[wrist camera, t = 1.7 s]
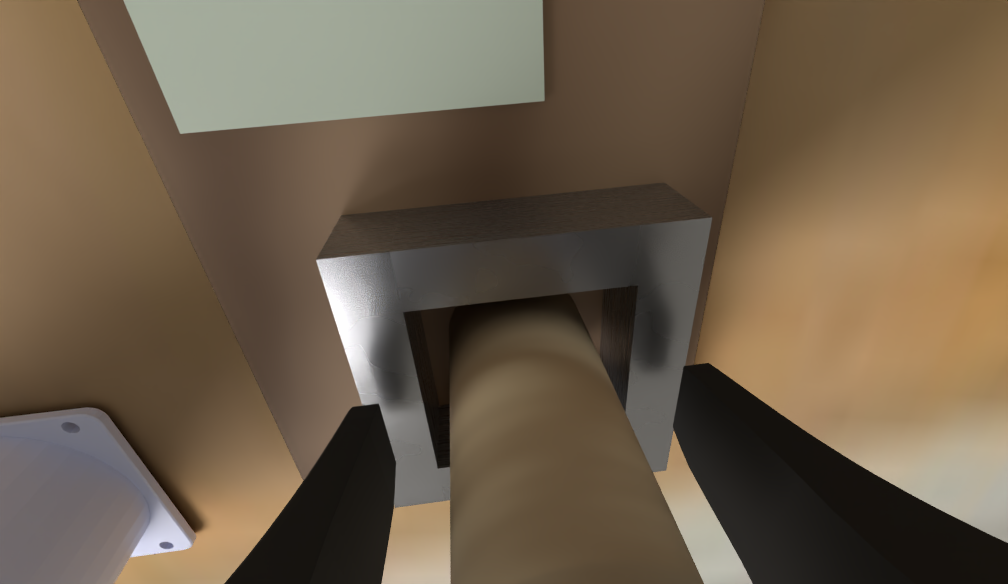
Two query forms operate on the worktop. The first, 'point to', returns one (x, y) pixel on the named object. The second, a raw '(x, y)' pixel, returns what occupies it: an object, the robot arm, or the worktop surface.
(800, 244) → the worktop surface
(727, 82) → the walnut board
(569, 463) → the maple peg
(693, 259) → the grey square frame
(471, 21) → the pad
